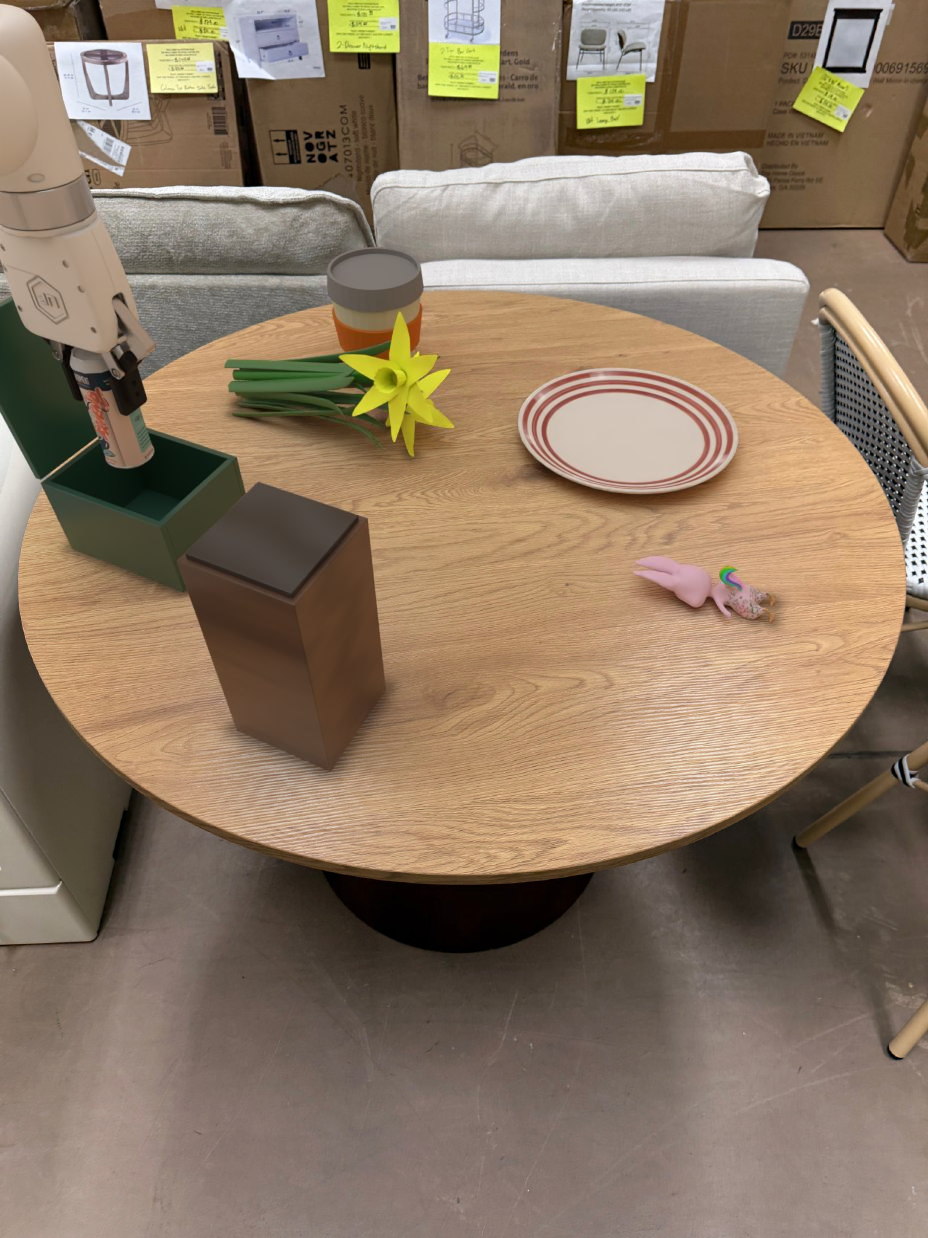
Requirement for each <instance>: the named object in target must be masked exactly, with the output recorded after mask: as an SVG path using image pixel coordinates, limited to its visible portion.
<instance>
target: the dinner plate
mask: <svg viewBox="0 0 928 1238" xmlns="http://www.w3.org/2000/svg"><path fill="white" fill-rule="evenodd" d="M737 427H738V426H737V424H736V422H735V420H734V418H733V416H732V414H731V413H730V412H729V410H728V409H727V408H726V407H725V406H724V405H723V403H721V402H720V401H719V400H718V399H717V398H715V397H714V396H713V395H711V394H710V393H708V392H707V391H706V390H704V389H702V388H700V387H699V386H696V385H695V384H692V383H691V382H689V381H688V382H687V381H686V380H683V379H680V378H678V377H675V376H671V375H668V374H665V373H661V372H655V371H650V370H645V369H638V368H629V367H627V368H626V367H599V368H590V369H584V370H578V371H574V372H570V373H567V374H563V375H561V376H557V377H556V378H554V379H551V380H549V381H546V382H545V383H544V384H542V385H540V386H539V387H537V388H536V389H535V390H533V392H531V393H530V394H529V395H528V397H526V398H525V400H524V401H523V403H522V404H521V407H520V409H519V411H518V416H517V429H518V434H519V437H520V439H521V442H522V444H523V445H524V446H525V448H526V449H527V451H528V452H529V453H530V454H531V455H532V456H533V457H534V458H535V459H536V460H537V461H538V462H539V463H541V464H542V465H544V466H545V467H546V468H547V469H548V470H550V471H552V472H553V473H555V474H557V475H559V476H561V477H563V478H565V479H566V480H569V481H571V482H574V483H577V484H579V485H582V486H585V487H589V488H591V489H595V490H599V491H605V492H610V493H617V494H618V493H619V494H628V495H652V494H653V495H654V494H663V493H670V492H671V493H672V492H676V491H681V490H684V489H689V488H691V487H696V486H697V485H699V484H702V483H704V482H706V481H709V480H710V479H712V478H714V477H715V476H717V475H718V474H720V473H721V471H723V470H724V469H726V467H727V466H728V465H729V464H730V463H731V461H732V460H733V458H734V456H735V455H736V452H737V450H738V447H739V440H740V439H739V430H738V428H737Z"/></svg>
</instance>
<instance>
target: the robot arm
mask: <svg viewBox="0 0 928 1238" xmlns="http://www.w3.org/2000/svg"><path fill="white" fill-rule="evenodd" d="M52 60H53V59H52V57H51V54H50V51H49V47H48V44H47V42H46V38H45V35H44V33H43V31H42V28H41V26H40V24H39V23H38V21H37V20H36V18H35V17H34V16H33V15H32V14H31V13H29V12H28V11H26V10H24V8H20V7H18V6H15V5H10V4H6V3H5V4H4V3H0V263H1V266H2V267H1V268H2V270H3V273H4V276H5V279H6V282H7V285H8V288H9V291H10V294H12V297H13V300H14V302H15V305H16V308H17V310H18V313H19V315H20V318H21V320H22V322H23V324H24V326H25V327H26V328H27V329H28V330H29V331H31V332H32V333H34V334H36V335H38V336H41V337H42V338H43V339H44V340H45V341H46V342H47V343H48V344H49V345H50V346H51V351H52V355H53V356H54V358H55V359H56V360H58V361H63V362H62V363H61V366H62V368H63V371H64V374H65V376H66V379H67V381H68V384H69V387H70V389H71V392H72V395H73V397H74V399H75V400H78V401H83V400H84V398H83V396H82V393H81V390H80V388H79V385H78V382H77V380H76V377H75V374H74V372H73V369H72V368H71V366H70V358H71V353H72V351H71V350H72V349H73V348H74V347H77V348H81V349H84V350H87V351H91V352H95V353H100V354H101V355H102V357H103V359H104V361H105V363H106V364H107V366H108V368H109V370H110V372H111V374H112V376H110V377H109V378H108V380H109V384H110V387H111V390H112V392H113V395H114V398H115V401H116V404H117V407H118V410H119V412H120V414H121V415H124V416H128V415H130V414H131V413H132V412H134V411H135V410H137V409H138V408H139V407H140V408H141V407H142V406H144V405H145V404H146V403H147V402H148V396H147V393H146V390H145V387H144V383H143V380H142V377H141V373H140V370H139V367H140V366H141V365H142V362H143V360H145V358H146V356H148V355H149V354H150V353H152V352H153V351H154V350H155V349H156V348H157V344H156V342H155V340H154V339H153V338H152V337H151V335H150V334H149V333H148V332H147V330H146V328H145V327H144V326H143V325H142V324H141V323H140V322H141V321H140V317H139V313H138V308H137V305H136V301H135V298H134V295H133V292H132V288H131V286H130V283H129V280H128V277H127V275H126V272H125V269H124V267H123V264H122V261H121V259H120V256H119V254H118V252H117V249H116V247H115V244H114V243H113V240H112V238H111V236H110V234H109V231H108V229H107V227H106V225H105V223H104V221H103V219H102V217H99V216H98V215H99V214H98V210H97V207H96V203H95V200H94V197H93V193H92V191H91V187H90V184H89V180H88V177H87V174H86V171H85V166H84V163H83V160H82V157H81V154H80V151H79V147H78V144H77V140H76V137H75V134H74V133H75V132H74V130H73V127H72V124H71V121H70V118H69V114H68V110H67V107H66V105H65V101H64V98H63V97H64V96H63V94H62V91H61V87H60V83H59V80H58V78H57V74H56V70H55V67H54V64H53V61H52ZM117 346H118V347H119V348H120V349H121V350H122V351H123V354H122V356H121V357H120V359H119V360H118V358H117V356H116V354H115V352H114V350H113V349H114V348H115V347H117Z"/></svg>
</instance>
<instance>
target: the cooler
mask: <svg viewBox="0 0 928 1238" xmlns="http://www.w3.org/2000/svg"><path fill="white" fill-rule="evenodd" d="M146 428H147V431H148V434H149V437H150V441H151V444H152V446H153V448H154V454H153V456H152V457H151V459H150V460H149V461H147V462H145V463H144V464H143V465H141V466H138V467H135V468H129V469H125V468H116V467H114V466H111V465H109V464H108V463H107V461H106V458H105V455H104V452H103V449H102V447H101V444H100V441H99V439H98V438H96V439H95V440H94V441H92V442H91V444H88V446H86V447H85V448H83V450H81V451H79V453H78V454H75V455H74V457H71V458H70V460H67V462H65V464H62V465H61V466H60V467H58V468H57V470H54V471H53V472H52V473H50V475H49V476H48V477H45V479H43V480H41V482H40V485H41V488H42V490H43V491H44V494H45V496H46V498H47V501H48V502H49V504H50V506H51V509H52V510H53V512H54V515H55V516H56V519H57V521H58V522H59V525H60V528H61V529H62V531H63V533H64V536H65V537H66V539H67V541H68V544H69V546H70V548H71V550H74V551H76V552H78V553H81V554H84V555H86V556H89V557H92V558H94V559H98V560H99V561H102V562H105V563H107V564H110V565H112V566H115V567H117V568H120V569H122V570H125V571H127V572H130V573H132V574H135V575H137V576H140V577H143V578H145V579H147V580H151V581H153V582H156V583H158V584H160V585H163V586H165V587H168V588H171V589H173V590H176V591H179V592H181V593H186V591H187V588H186V586H185V583H184V580H183V577H182V574H181V571H180V569H179V566H178V563H177V560H178V559H179V558H180V557H181V556H182V555H183V554H184V553H185V552H186V551H187V550H188V549H189V548H190V547H191V546H192V545H193V544H194V543H195V542H196V541H197V540H198V539H200V538H201V537H202V536H203V535H204V534H205V533H206V532H207V531H208V530H209V529H210V528H211V527H212V526H213V525H214V524H215V523H216V522H217V521H218V520H219V519H220V518H221V517H222V516H223V515H224V514H225V513H226V512H227V511H228V510H229V509H230V508H231V507H232V506H233V505H234V504H235V503H236V502H238V501H239V500H240V499H241V498H242V497H243V496H244V495H245V494H246V493H247V491H246V488H245V485H244V479H243V477H242V473H241V468H240V464H239V460H238V457H237V456H235V455H232V454H229V453H226V452H223V451H220V450H217V449H214V448H211V447H208V446H204V445H201V444H199V443H195V442H192V441H189V440H186V439H183V438H180V437H177V436H175V435H171V434H168V433H165V432H162V431H159V430H156V429H154V428H150V427H147V426H146Z"/></svg>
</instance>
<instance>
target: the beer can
mask: <svg viewBox="0 0 928 1238" xmlns="http://www.w3.org/2000/svg"><path fill="white" fill-rule="evenodd" d="M113 350H114V352H115V354H116V356H117V358H118V360H119V359H120V357H121V356H122V354H123V351H122V349H121V347H120V346H119V345H118V346H117V347H115V348H114V349H113ZM71 351H72V353H71V358H70V366H71V368H72V369H73V372H74V374H75V377H76V380H77V382H78V385H79V388H80V390H81V393H82V396H83V398H84V401H85V404H86V406H87V409H88V412H89V414H90V417H91V420H92V423H93V425H94V428H95V431H96V433H97V436H98V437H97V439H99V441H100V444H101V447H102V449H103V452H104V455H105V458H106V461H107V463H108V464H109V465H111V466H114V467H116V468H125V469H129V468H135V467H138V466H141V465H143V464H144V463H145V462H147V461H149V460H150V459H151V457H152V456H153V454H154V448H153V446H152V444H151V441H150V437H149V434H148V431H147V428H148V427H147V426H146V425H147V424H146V422H145V419H144V416H143V412H142V409H141V407H139V408H138V409H137V410H135V411H134V412H132V413H131V414H130V415H128V416H124V415H121V414H120V412H119V410H118V407H117V404H116V401H115V398H114V395H113V392H112V390H111V387H110V384H109V380H108V378H109V377H110V376H112V374H111V372H110V370H109V368H108V366H107V364H106V363H105V361H104V359H103V357H102V355H101V354H100V353H95V352H91V351H87V350H84V349H81V348H77V347H74V348H73V349H72V350H71ZM146 427H147V428H146Z"/></svg>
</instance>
